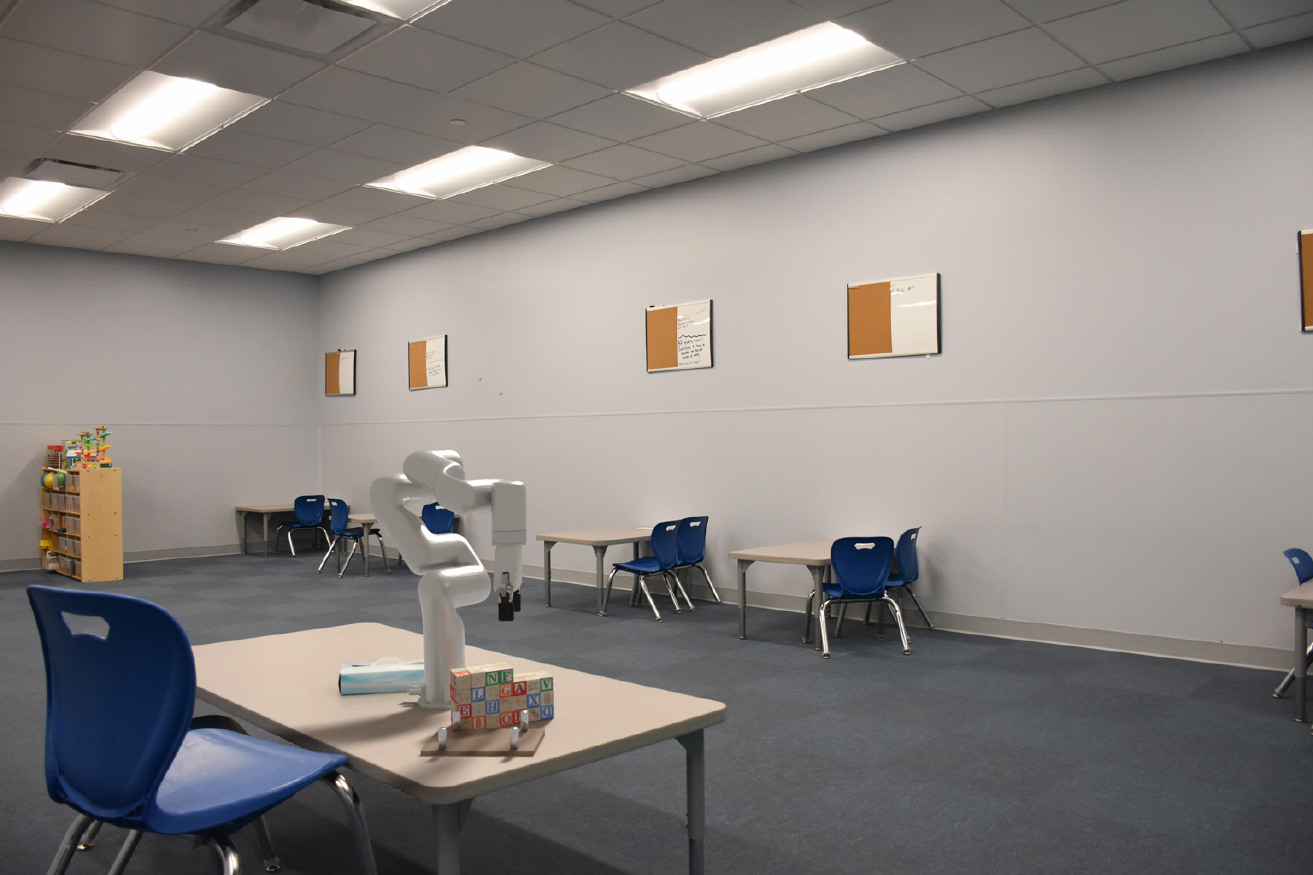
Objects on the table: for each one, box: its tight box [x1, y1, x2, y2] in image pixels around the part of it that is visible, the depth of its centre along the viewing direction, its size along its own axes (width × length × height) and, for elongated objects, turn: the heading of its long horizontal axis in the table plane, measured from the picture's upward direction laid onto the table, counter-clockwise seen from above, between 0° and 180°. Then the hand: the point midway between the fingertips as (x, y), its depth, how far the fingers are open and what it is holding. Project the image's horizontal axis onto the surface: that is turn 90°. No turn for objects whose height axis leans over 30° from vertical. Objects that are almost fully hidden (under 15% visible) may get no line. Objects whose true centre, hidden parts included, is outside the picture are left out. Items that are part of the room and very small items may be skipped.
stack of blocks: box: [450, 661, 555, 729], centre depth 199 cm, size 21×6×12 cm, turn 115°
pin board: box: [420, 710, 546, 757], centre depth 183 cm, size 22×13×6 cm, turn 88°
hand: (510, 616), depth 200 cm, fingers open, 9 cm apart
